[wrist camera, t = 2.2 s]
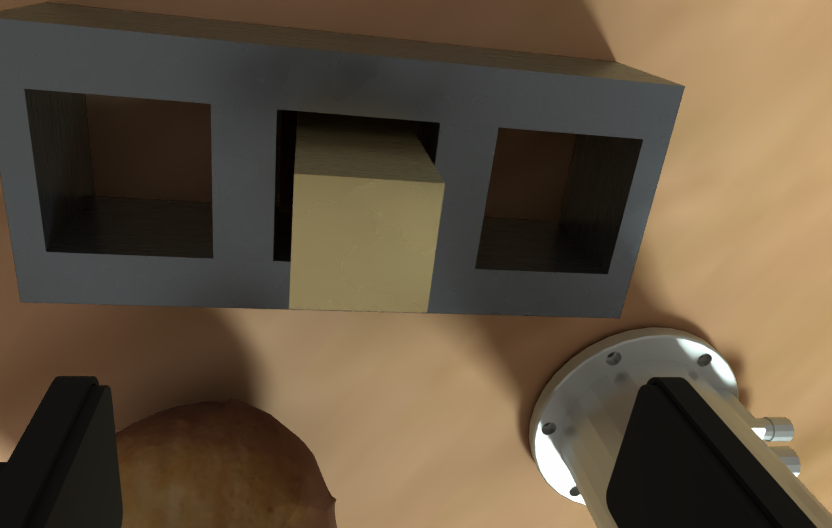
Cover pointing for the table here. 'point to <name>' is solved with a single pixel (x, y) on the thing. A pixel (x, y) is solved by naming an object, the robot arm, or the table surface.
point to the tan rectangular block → (362, 215)
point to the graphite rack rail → (261, 153)
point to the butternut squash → (219, 471)
